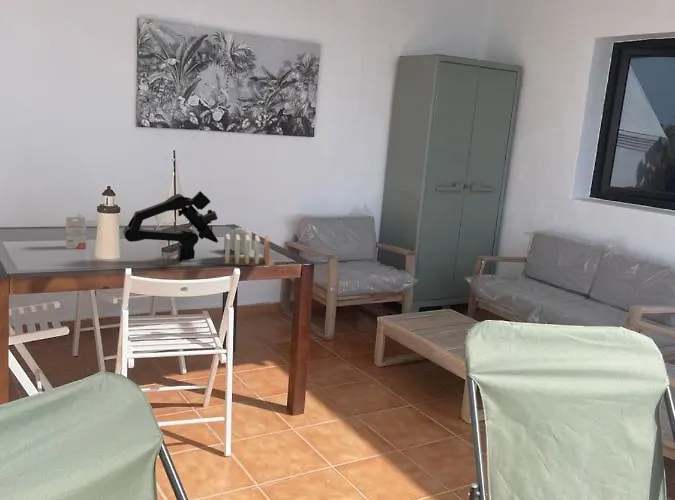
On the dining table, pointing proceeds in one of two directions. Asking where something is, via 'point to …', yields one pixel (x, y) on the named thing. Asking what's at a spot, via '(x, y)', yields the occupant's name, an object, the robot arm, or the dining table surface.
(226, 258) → the domino
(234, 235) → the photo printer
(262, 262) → the walnut board
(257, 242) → the domino
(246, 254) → the domino
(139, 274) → the dining table surface
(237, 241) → the domino
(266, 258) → the domino
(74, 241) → the ink cartridge box
